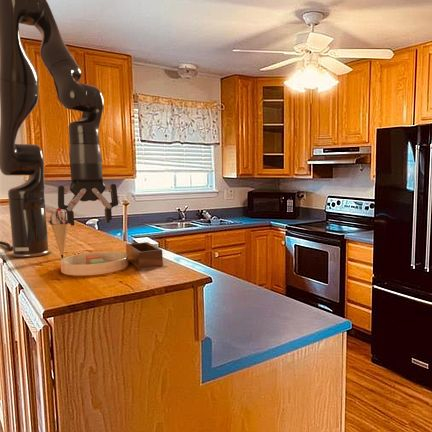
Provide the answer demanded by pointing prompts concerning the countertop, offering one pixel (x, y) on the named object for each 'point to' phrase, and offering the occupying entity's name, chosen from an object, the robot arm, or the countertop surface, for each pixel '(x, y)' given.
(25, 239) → the robot arm
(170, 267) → the countertop surface
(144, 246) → the holder
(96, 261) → the green block
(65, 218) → the ice cream cone
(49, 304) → the countertop surface
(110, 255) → the bowl
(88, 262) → the orange rectangular block
